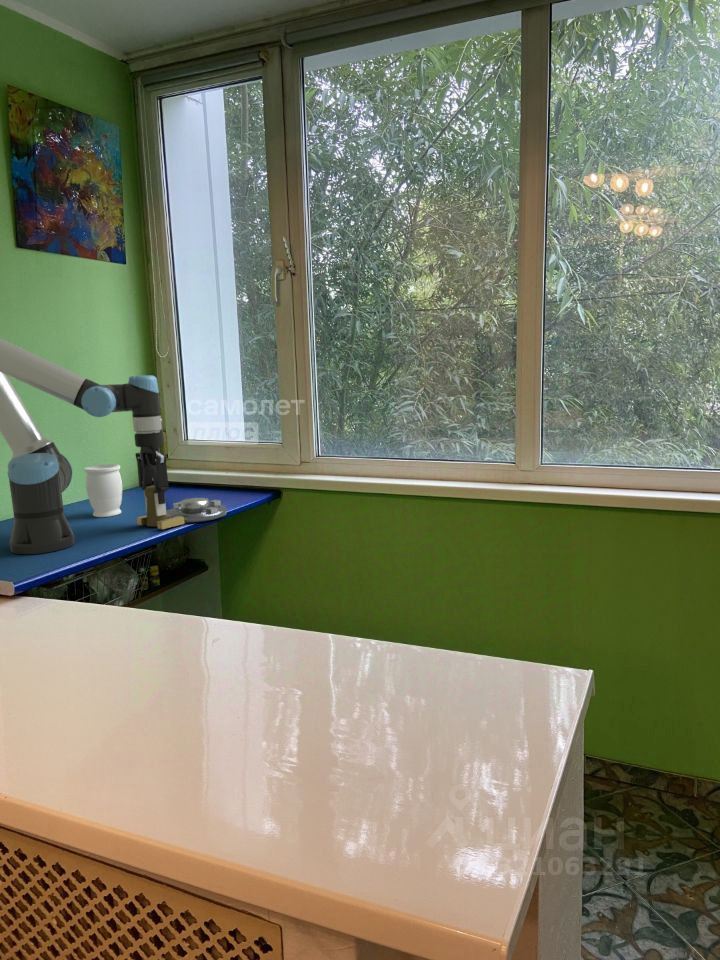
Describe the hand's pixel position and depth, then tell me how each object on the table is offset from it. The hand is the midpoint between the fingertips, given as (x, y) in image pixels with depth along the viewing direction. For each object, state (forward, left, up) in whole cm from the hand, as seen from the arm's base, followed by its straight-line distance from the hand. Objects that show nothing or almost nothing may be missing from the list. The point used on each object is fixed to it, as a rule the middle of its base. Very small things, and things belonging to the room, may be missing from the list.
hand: (156, 513), depth 199 cm
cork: (0, -1, -3) cm, 3 cm away
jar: (-7, +26, -4) cm, 27 cm away
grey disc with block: (+9, +1, -3) cm, 10 cm away
